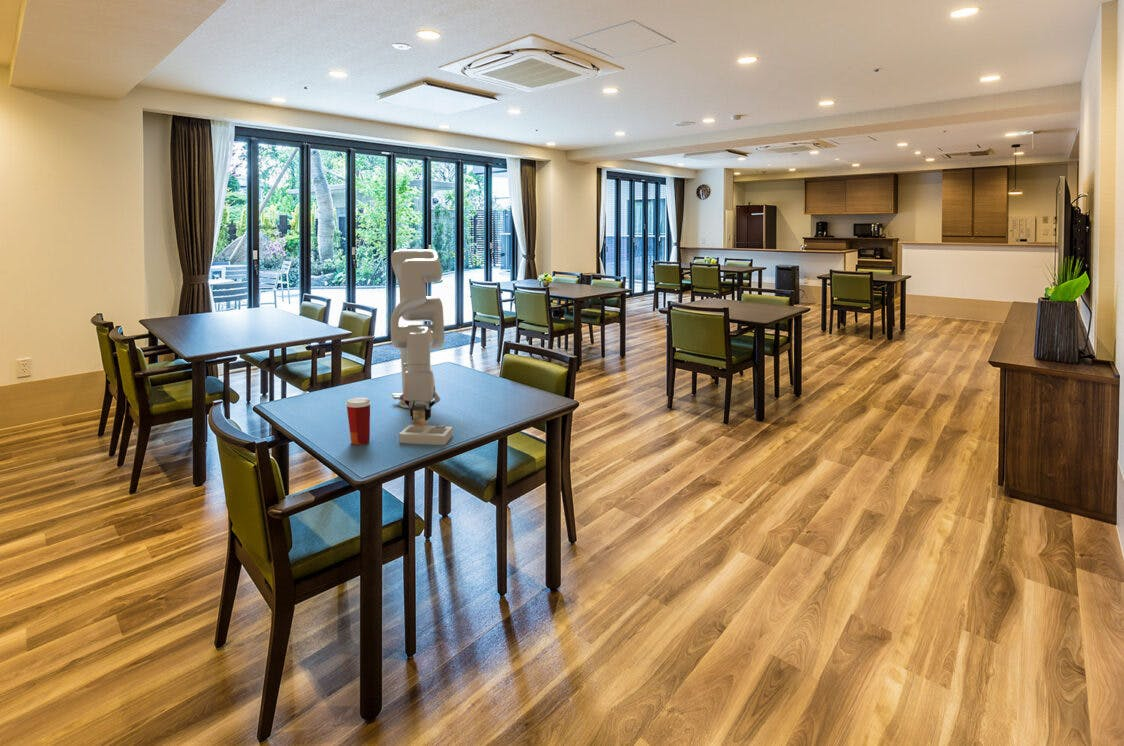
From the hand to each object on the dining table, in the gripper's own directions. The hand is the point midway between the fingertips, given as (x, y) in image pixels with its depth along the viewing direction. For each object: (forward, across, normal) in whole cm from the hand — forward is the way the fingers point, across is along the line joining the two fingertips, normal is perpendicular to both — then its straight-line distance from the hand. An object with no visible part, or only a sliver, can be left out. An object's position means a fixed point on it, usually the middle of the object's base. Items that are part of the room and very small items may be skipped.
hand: (420, 418), depth 212 cm
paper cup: (+4, -15, -17) cm, 23 cm away
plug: (+3, 0, 0) cm, 3 cm away
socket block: (+3, +5, -11) cm, 12 cm away
